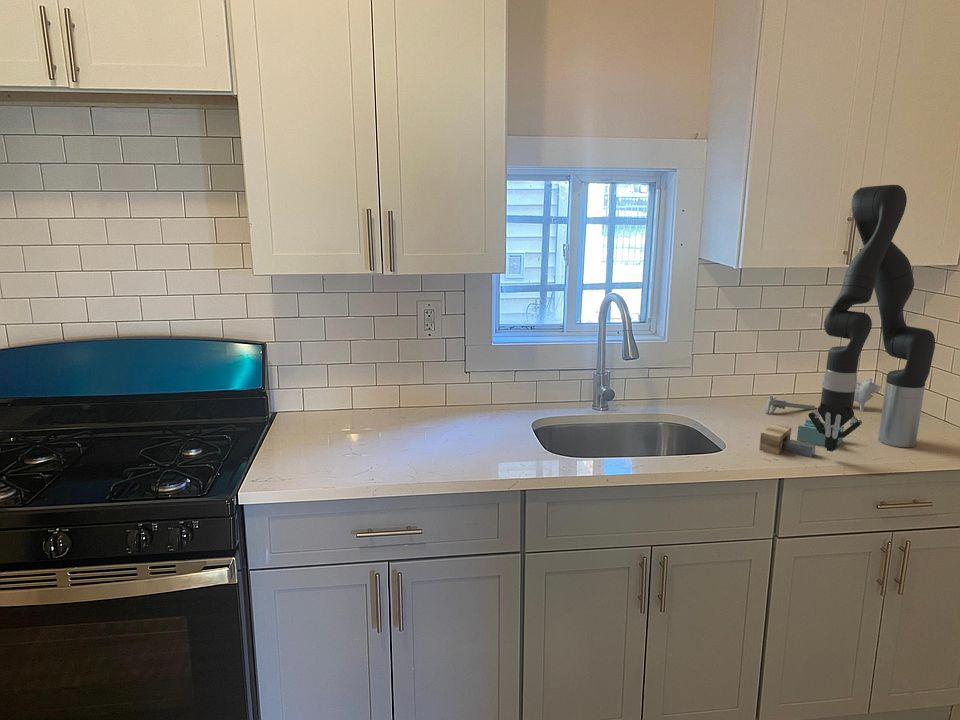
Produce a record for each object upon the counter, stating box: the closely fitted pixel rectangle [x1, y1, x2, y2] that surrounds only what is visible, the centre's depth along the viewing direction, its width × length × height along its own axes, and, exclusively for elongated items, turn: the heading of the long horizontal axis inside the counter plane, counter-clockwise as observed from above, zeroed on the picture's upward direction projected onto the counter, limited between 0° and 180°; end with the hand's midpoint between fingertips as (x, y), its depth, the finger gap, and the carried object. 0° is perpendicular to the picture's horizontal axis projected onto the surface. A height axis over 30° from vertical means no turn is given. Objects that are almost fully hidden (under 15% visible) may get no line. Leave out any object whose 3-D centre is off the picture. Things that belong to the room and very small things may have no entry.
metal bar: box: [781, 438, 816, 458], centre depth 183 cm, size 3×12×3 cm, turn 49°
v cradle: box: [796, 418, 845, 447], centre depth 191 cm, size 8×10×4 cm
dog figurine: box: [854, 378, 882, 413], centre depth 221 cm, size 5×13×11 cm, turn 60°
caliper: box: [765, 395, 818, 415], centre depth 219 cm, size 20×1×6 cm, turn 108°
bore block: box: [759, 423, 792, 455], centre depth 185 cm, size 10×5×5 cm, turn 139°
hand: (830, 450), depth 176 cm, fingers closed
